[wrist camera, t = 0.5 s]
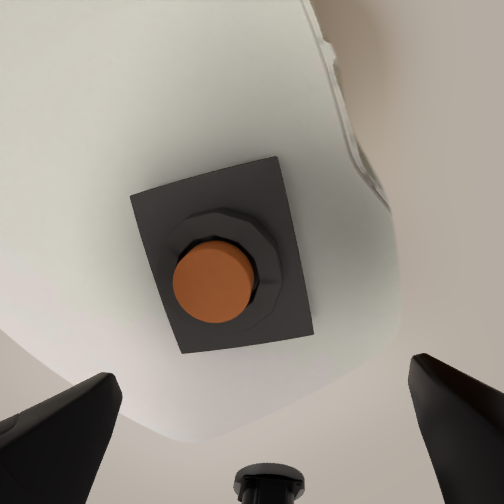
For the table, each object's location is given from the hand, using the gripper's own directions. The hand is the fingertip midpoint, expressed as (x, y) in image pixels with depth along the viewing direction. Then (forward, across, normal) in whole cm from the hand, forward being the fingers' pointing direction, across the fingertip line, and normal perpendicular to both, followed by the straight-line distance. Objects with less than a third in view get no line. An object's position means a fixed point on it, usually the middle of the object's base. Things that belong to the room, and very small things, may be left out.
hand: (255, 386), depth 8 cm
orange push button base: (+13, +3, 0) cm, 13 cm away
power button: (+9, +3, 0) cm, 10 cm away
